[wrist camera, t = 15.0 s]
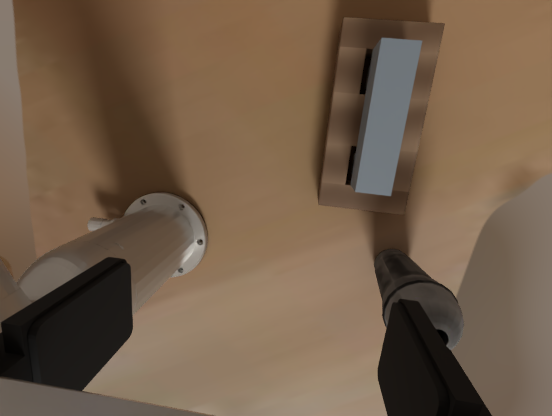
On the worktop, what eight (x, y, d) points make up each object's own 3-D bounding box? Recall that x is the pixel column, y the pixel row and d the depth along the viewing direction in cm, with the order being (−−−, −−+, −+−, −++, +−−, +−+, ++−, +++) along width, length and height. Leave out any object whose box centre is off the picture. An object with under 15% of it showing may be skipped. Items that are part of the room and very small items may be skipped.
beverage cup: (418, 236, 40) (517, 335, 20) (420, 286, 41) (515, 421, 22) (361, 242, 41) (404, 341, 21) (366, 290, 42) (410, 423, 23)
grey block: (364, 60, 35) (381, 37, 27) (395, 63, 35) (422, 40, 26) (345, 178, 39) (355, 191, 30) (373, 181, 39) (390, 196, 30)
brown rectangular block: (395, 206, 39) (404, 215, 35) (318, 197, 40) (318, 204, 36) (429, 35, 34) (444, 23, 30) (340, 29, 35) (343, 17, 31)
